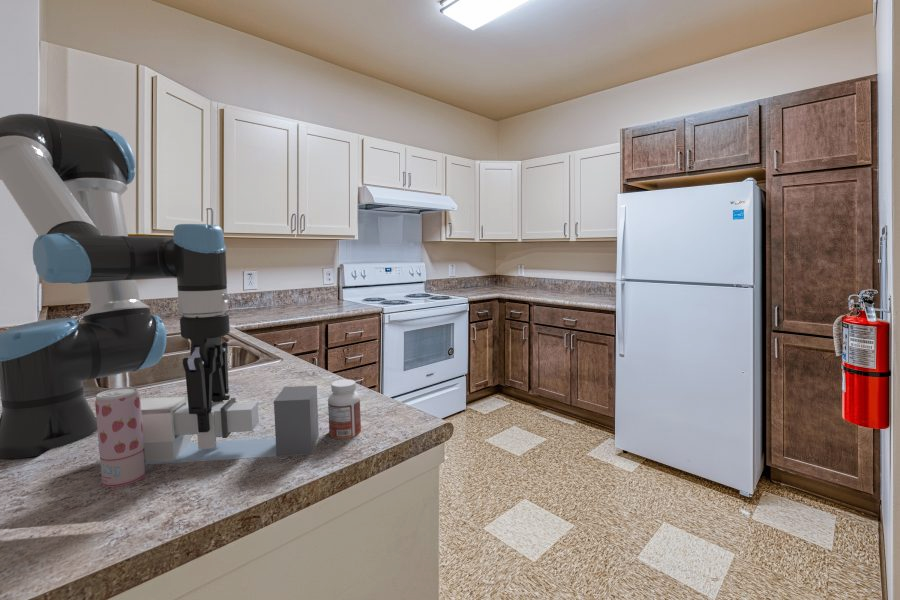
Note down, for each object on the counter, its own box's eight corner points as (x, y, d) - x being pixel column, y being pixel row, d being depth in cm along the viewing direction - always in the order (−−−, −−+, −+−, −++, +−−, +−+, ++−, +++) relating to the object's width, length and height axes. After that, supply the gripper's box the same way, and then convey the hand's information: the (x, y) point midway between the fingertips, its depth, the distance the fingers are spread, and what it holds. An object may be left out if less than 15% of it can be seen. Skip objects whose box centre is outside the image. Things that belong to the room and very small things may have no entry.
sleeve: (116, 464, 74) (112, 411, 73) (138, 447, 81) (134, 398, 80) (174, 460, 75) (170, 408, 74) (191, 444, 82) (187, 395, 81)
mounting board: (114, 472, 74) (114, 466, 73) (141, 450, 81) (140, 445, 81) (311, 459, 78) (311, 453, 78) (318, 440, 86) (318, 435, 86)
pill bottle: (349, 427, 92) (348, 376, 91) (367, 436, 88) (366, 382, 87) (323, 436, 87) (321, 382, 86) (340, 446, 83) (338, 389, 82)
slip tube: (101, 445, 74) (99, 414, 73) (121, 432, 79) (118, 403, 79) (251, 436, 77) (249, 407, 77) (260, 424, 83) (258, 396, 82)
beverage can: (93, 489, 68) (84, 396, 66) (128, 472, 74) (121, 385, 72) (121, 495, 67) (113, 399, 65) (155, 476, 72) (148, 388, 70)
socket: (276, 456, 77) (273, 401, 76) (286, 437, 85) (284, 386, 84) (311, 453, 78) (309, 399, 77) (318, 435, 86) (316, 385, 85)
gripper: (207, 321, 69) (216, 463, 71) (243, 307, 85) (249, 422, 88) (155, 322, 68) (166, 466, 70) (202, 307, 84) (209, 424, 87)
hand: (212, 441), depth 79 cm, fingers closed on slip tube, 4 cm apart
